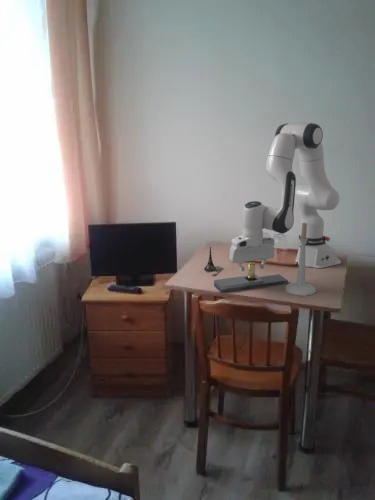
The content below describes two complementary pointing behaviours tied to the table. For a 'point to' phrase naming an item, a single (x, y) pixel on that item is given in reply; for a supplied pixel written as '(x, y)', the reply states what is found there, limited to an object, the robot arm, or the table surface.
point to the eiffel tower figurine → (212, 266)
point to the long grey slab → (248, 282)
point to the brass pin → (251, 271)
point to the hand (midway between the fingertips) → (252, 269)
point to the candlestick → (301, 271)
